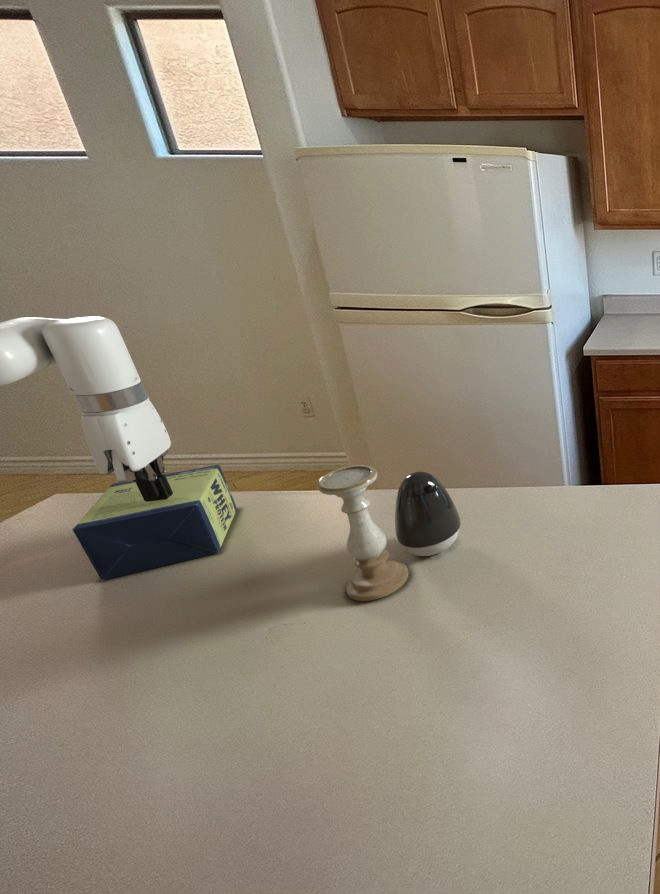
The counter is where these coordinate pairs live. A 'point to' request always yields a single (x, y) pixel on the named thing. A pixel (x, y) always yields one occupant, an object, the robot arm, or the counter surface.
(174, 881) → the counter surface
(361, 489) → the candle holder
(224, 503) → the protein box
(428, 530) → the dark grey egg shape
